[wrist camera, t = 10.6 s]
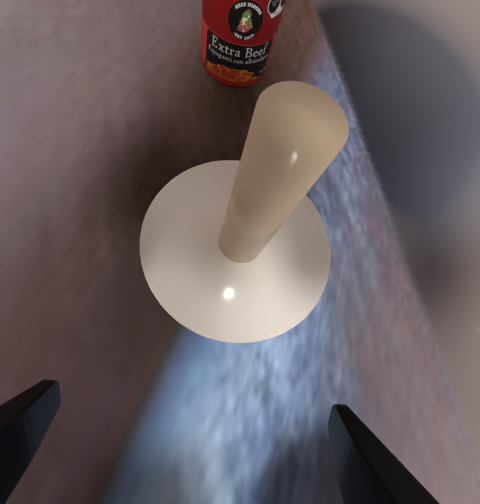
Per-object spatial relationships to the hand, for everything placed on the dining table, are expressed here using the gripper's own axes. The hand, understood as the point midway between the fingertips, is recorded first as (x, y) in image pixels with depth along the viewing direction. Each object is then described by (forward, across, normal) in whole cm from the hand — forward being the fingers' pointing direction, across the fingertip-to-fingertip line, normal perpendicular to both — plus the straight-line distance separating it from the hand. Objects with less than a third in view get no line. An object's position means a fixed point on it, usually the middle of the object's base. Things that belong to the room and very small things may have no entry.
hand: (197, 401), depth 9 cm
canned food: (+30, +1, -18) cm, 35 cm away
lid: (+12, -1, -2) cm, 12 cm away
